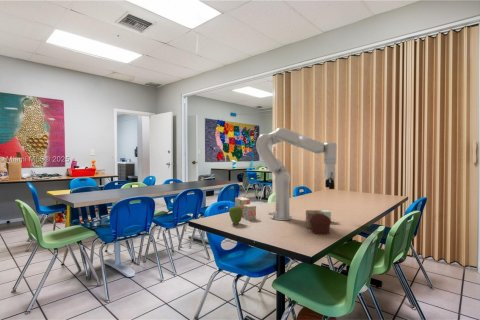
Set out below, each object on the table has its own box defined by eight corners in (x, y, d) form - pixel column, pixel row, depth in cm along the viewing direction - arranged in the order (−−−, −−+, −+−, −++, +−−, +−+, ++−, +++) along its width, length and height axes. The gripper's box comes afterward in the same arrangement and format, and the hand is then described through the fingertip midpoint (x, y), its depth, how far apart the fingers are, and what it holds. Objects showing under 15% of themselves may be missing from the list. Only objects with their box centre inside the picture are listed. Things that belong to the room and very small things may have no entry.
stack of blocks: (256, 219, 182) (256, 201, 181) (247, 220, 179) (247, 202, 179) (242, 213, 201) (242, 196, 201) (235, 214, 199) (234, 197, 198)
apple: (244, 222, 174) (244, 204, 173) (240, 225, 166) (240, 207, 165) (231, 221, 176) (231, 204, 176) (227, 225, 168) (227, 206, 168)
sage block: (321, 222, 172) (321, 211, 171) (320, 220, 177) (320, 210, 177) (330, 222, 171) (330, 211, 171) (328, 220, 177) (328, 210, 176)
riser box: (308, 228, 158) (308, 213, 158) (306, 224, 167) (305, 210, 167) (324, 229, 157) (324, 213, 157) (320, 225, 166) (320, 210, 166)
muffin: (306, 232, 150) (306, 215, 150) (314, 228, 158) (314, 211, 158) (326, 237, 142) (326, 218, 142) (334, 232, 151) (334, 214, 150)
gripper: (321, 161, 183) (320, 186, 183) (327, 162, 166) (327, 189, 166) (332, 161, 182) (332, 186, 183) (339, 162, 165) (339, 190, 166)
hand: (329, 188), depth 174 cm, fingers open, 9 cm apart
